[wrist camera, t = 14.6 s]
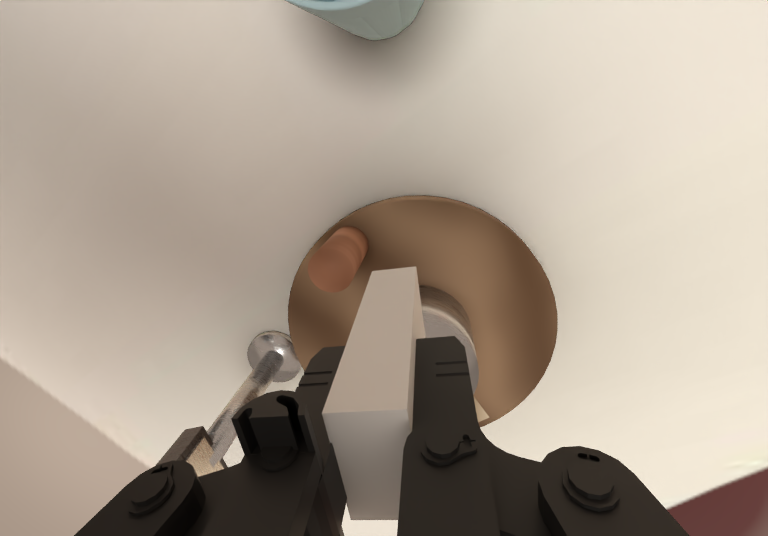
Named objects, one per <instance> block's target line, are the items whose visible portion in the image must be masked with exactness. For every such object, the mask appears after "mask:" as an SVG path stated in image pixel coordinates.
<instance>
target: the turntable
mask: <svg viewBox="0 0 768 536" xmlns="http://www.w3.org/2000/svg"><path fill="white" fill-rule="evenodd" d="M415 266H416V269H417V277H418V284H419V285H425V286H431V287H435V288H438V289H440V290H443V291H444V292H446V293H448V294H450V295H451V296H452V297H454V298H455V299H456V300H457V301H458V302H459V303H460V304H461V305H462V307H463V308H464V310H465V311H466V313H467V315H468V317H469V320H470V324H471V329H472V335H473V340H474V345H475V351H476V356H477V362H478V368H479V380H478V384H477V388H476V390H475V393H474V395H473V396H474V402H475V408H476V413H477V419H478V423H479V426H480V427H482V426H485V425H487V424H489V423H491V422H493V421H495V420H497V419H499V418H501V417H502V416H504V415H505V414H507V413H508V412H510V411H511V410H513V409H514V408H515V407H516V406H517V405H519V404H520V403H521V402H522V401H523V400H524V399H525V398H526V397H527V396H528V395H529V394H530V393H531V392H532V391H533V389H534V388H535V387H536V386H537V384H538V383H539V381H540V380H541V378H542V377H543V375H544V373H545V371H546V369H547V367H548V365H549V363H550V361H551V357H552V354H553V351H554V348H555V343H556V336H557V309H556V303H555V298H554V294H553V291H552V288H551V285H550V282H549V280H548V278H547V276H546V274H545V272H544V270H543V268H542V266H541V265H540V263H539V262H538V260H537V259H536V258H535V256H534V255H533V254H532V252H531V251H530V250H529V248H528V247H527V246H526V244H525V243H524V242H523V241H522V240H521V239H520V238H519V237H518V236H517V235H516V234H515V233H514V232H513V231H512V230H511V229H510V228H509V227H507V226H506V225H505V224H503V223H502V222H501V221H500V220H498V219H497V218H495V217H493V216H492V215H490V214H488V213H486V212H485V211H483V210H481V209H479V208H476V207H474V206H471V205H469V204H466V203H464V202H460V201H456V200H452V199H448V198H443V197H435V196H403V197H396V198H389V199H386V200H382V201H379V202H375V203H372V204H370V205H367V206H365V207H363V208H360V209H358V210H356V211H354V212H353V213H351V214H349V215H348V216H346V217H345V218H343V219H341V220H340V221H339V222H338V223H337V224H335V225H334V226H333V227H332V228H330V229H329V230H328V231H327V232H326V233H325V234H324V235H323V236H322V237H321V238H320V239H319V240H318V241H317V242H316V244H315V245H314V246H313V247H312V248H311V249H310V251H309V252H308V254H307V255H306V257H305V258H304V260H303V261H302V263H301V265H300V267H299V269H298V271H297V273H296V275H295V278H294V281H293V285H292V288H291V291H290V298H289V305H288V323H289V330H290V336H291V340H292V343H293V347H294V350H295V353H296V355H297V357H298V360H299V362H300V364H301V366H302V367H303V369H304V371H305V370H306V368H307V366H308V364H309V362H310V359H311V358H313V357H314V356H315V355H316V354H317V353H318V352H319V351H320V350H321V349H322V348H323V347H335V346H346V344H347V341H348V338H349V335H350V332H351V329H352V327H353V324H354V321H355V318H356V315H357V312H358V310H359V307H360V304H361V301H362V298H363V295H364V293H365V290H366V287H367V284H368V281H369V278H370V276H371V273H372V271H378V270H387V269H396V268H406V267H415Z"/></svg>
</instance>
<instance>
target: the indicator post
mask: <svg viewBox="0 0 768 536" xmlns="http://www.w3.org/2000/svg"><path fill="white" fill-rule="evenodd" d="M248 360H249V363H250V365H251V367H252V368H253V371H252V372H251V374H250V375H249V376H248V378H247V379H246V380H245V382H244V383H243V384H242V386H241V387H240V388H239V390H238V391H237V392H236V394H235V395H234V396H233V398H232V399H231V400H230V402H229V403H228V404H227V406H226V407H225V408H224V410H223V411H222V412H221V414H220V415H219V416H218V418H217V419H216V420H215V422H214V423H213V424H212V426H211V427H210V428H209V430H208V431H207V432H206V430H205V429H204V427H203V426H201V427H196V428H191V429H186V430H185V431H184V432H183V433H182V434H181V435H180V437H179V438H178V439H177V440H176V441H175V443H174V444H173V445H172V446H171V448H170V449H169V450H168V451H167V452H166V454H165V455H164V456H163V457H162V458H161V460H160V461H159V462H158V463H157V464H156V465H159V464H162V463H166V462H169V461H186V462H188V463H189V464H191V465H193V467H194V469H195V472H196V474H197V476H198V477H199V476H203V475H206V474H209V473H212V472H215V471H219V470H222V469H225V468H228V467H227V465H226V463H225V462H224V460H223V456H224V455H225V453H226V452H227V450H228V448H229V447H230V445H231V444H232V442H233V441H234V439H235V438H236V436H237V433H236V431H235V428H234V425H233V423H232V420H231V418H232V417H233V416H234V415H235V414H236V412H237V411H238V410H239V409H240V408H241V407H242V406H244V405H245V404H247V403H248V402H250V401H251V400H252V399H254V398H257V397H259V396H261V395H263V394H264V392H265V391H266V389H267V388H268V386H269V385H270V383H271V382H272V381H273V382H285V381H288V380H291V379H292V378H294V377H295V376H296V375H297V374H298V372H299V370H300V368H301V364H300V362H299V360H298V357H297V355H296V353H295V350H294V347H293V343H292V340H291V337H290V336H288V335H286V334H284V333H281V332H276V331H268V332H264V333H261V334H260V335H258V336H257V337H256V338H255V339H254V340H253V341H252V343H251V344H250V346H249V348H248Z"/></svg>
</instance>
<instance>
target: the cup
mask: <svg viewBox="0 0 768 536" xmlns="http://www.w3.org/2000/svg"><path fill="white" fill-rule="evenodd" d="M285 1H287V2H289V3H291V4H293V5H295V6H297V7H299V8H301V9H303V10H305V11H308V12H310V13H312V14H314V15H316V16H318V17H320V18H322V19H324V20H326V21H328V22H330V23H332V24H334V25H336V26H338V27H340V28H342V29H344V30H346V31H348V32H350V33H352V34H354V35H357V36H360V37H363V38H366V39H369V40H381V39H387V38H391V37H394V36H396V35H397V34H399V33H400V32H401V31H402V30H404V29H405V28H406V27H408V26H409V25H410V24H411V23H412V22H413V20H414V19H415V17H416V15H417V13H418V11H419V10H420V8H421V6H422V4H423V2H424V0H285Z"/></svg>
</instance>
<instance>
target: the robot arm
mask: <svg viewBox="0 0 768 536" xmlns="http://www.w3.org/2000/svg"><path fill="white" fill-rule="evenodd" d="M231 420H232V423H233V425H234V428H235V431H236V433H237V436H238V438H239V441H240V443H241V446H242V449H243V451H244V454H245V455H244V457H243V459H242V461H241V463H239V464H237V465H234V466H232V467H228V468H225V469H222V470H219V471H215V472H212V473H209V474H206V475H203V476H199V477H198V476H197V474H196V472H195V469H194V467H193V465H191V464H189V463H188V462H186V461H169V462H166V463H162V464H159V465H156V466H155V467H153V468H151V469H149V470H147V471H145V472H144V473H142V474H140V475H139V476H138V477H137V478H136V479H134V480H133V481H132V482H130V483H129V484H128V485H127V486H125V487H124V488H123V489H122V490H121V491H120V492H119V493H118V494H117V495H116V496H115V497H114V498H113V499H112V500H111V501H110V502H109V503H108V504H107V505H106V506H105V507H103V508H102V509H101V510H100V511H99V512H98V513H97V514H96V515H95V516H94V517H93V518H92V519H91V520H90V521H89V522H88V523H87V524H86V525H85V526H84V527H83V528H82V529H81V530H80V531H78V532H77V533H76V534H75V535H74V536H344V533H343V530H342V526H341V525H342V520H343V515H344V510H345V505H346V503H347V507H348V511H349V514H350V518H351V520H398V532H397V536H689V535H688V534H687V532H686V531H685V530H684V529H683V528H682V527H681V526H680V525H679V523H678V522H677V521H676V520H675V519H674V518H673V517H672V516H671V515H670V513H669V512H668V511H667V510H666V509H665V508H664V507H663V506H662V504H661V503H660V502H659V501H658V500H657V499H656V498H655V497H654V495H653V494H652V493H651V492H650V491H649V490H648V489H647V488H646V486H645V485H644V484H643V483H642V482H641V481H640V480H639V479H638V477H637V476H636V475H635V474H634V473H633V472H631V471H630V470H629V469H628V468H627V467H626V466H624V465H623V464H622V463H621V462H620V461H619V460H617V459H615V458H613V457H611V456H609V455H607V454H605V453H603V452H601V451H599V450H594V449H590V448H585V447H581V446H574V447H561V448H559V449H557V450H555V451H553V452H550V453H548V454H547V456H546V457H545V458H544V460H543V461H542V462H537V461H533V460H529V459H525V458H521V457H518V456H515V455H512V454H509V453H506V452H505V451H503V450H501V449H499V448H498V447H496V446H495V445H493V444H492V443H491V442H490V441H489V440H488V439H487V438H486V437H485V435H484V434H483V433H482V431H481V429H480V426H479V423H478V419H477V413H476V408H475V402H474V396H473V390H472V385H471V379H470V374H469V367H468V362H467V356H466V350H465V346H464V345H463V344H462V343H461V342H460V341H459V340H458V339H457V338H456V337H455V336H446V337H433V338H426V336H425V328H424V321H423V314H422V306H421V299H420V291H419V284H418V277H417V269H416V266H415V267H406V268H396V269H387V270H378V271H372V273H371V276H370V278H369V281H368V284H367V287H366V290H365V293H364V295H363V298H362V301H361V304H360V307H359V310H358V312H357V315H356V318H355V321H354V324H353V327H352V329H351V332H350V335H349V338H348V341H347V344H346V346H335V347H323V348H322V349H321V350H320V351H319V352H318V353H317V354H316V355H315V356H314V357H313V358H311V359H310V362H309V364H308V366H307V368H306V370H305V372H304V376H302V378H301V380H300V382H299V387H297V389H296V391H295V392H293V391H283V390H280V391H275V392H270V393H266V394H264V395H261V396H259V397H257V398H254V399H252V400H251V401H250V402H248V403H247V404H245V405H244V406H242V407H241V408H240V409H239V410H238V411H237V412H236V414H235V415H234V416H233V417H232V418H231Z"/></svg>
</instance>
